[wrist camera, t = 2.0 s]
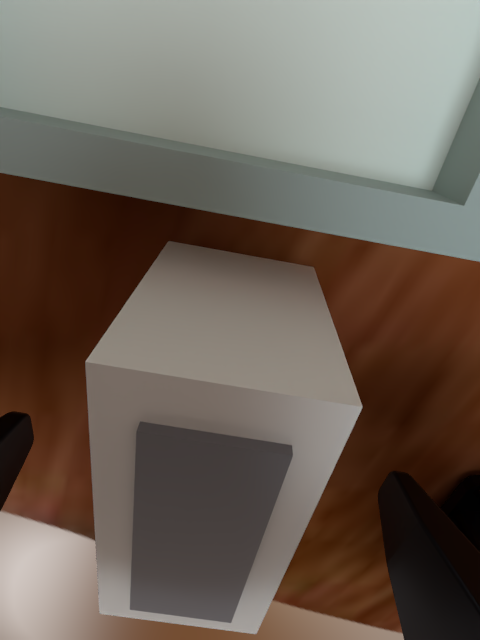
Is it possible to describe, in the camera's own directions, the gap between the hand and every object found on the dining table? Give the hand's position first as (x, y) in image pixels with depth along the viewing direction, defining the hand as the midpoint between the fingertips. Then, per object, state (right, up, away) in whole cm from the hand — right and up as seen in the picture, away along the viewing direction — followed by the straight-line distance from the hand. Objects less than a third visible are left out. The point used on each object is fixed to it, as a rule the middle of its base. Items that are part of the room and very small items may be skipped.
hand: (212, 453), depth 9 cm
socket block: (0, +2, +3) cm, 3 cm away
